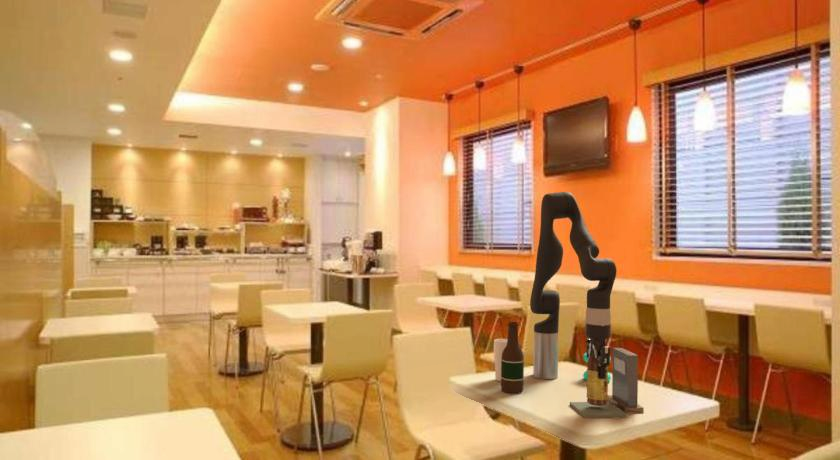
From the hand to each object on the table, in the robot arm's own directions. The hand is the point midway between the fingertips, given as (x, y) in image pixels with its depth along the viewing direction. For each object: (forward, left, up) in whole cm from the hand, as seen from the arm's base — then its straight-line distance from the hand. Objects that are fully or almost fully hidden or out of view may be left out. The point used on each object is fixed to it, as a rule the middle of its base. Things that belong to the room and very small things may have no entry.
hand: (597, 375), depth 183 cm
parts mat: (0, 0, -11) cm, 11 cm away
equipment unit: (-5, +11, -11) cm, 16 cm away
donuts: (-38, +15, -11) cm, 42 cm away
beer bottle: (-24, -21, -11) cm, 34 cm away
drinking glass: (-39, -21, -11) cm, 46 cm away
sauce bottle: (0, 0, -9) cm, 9 cm away
